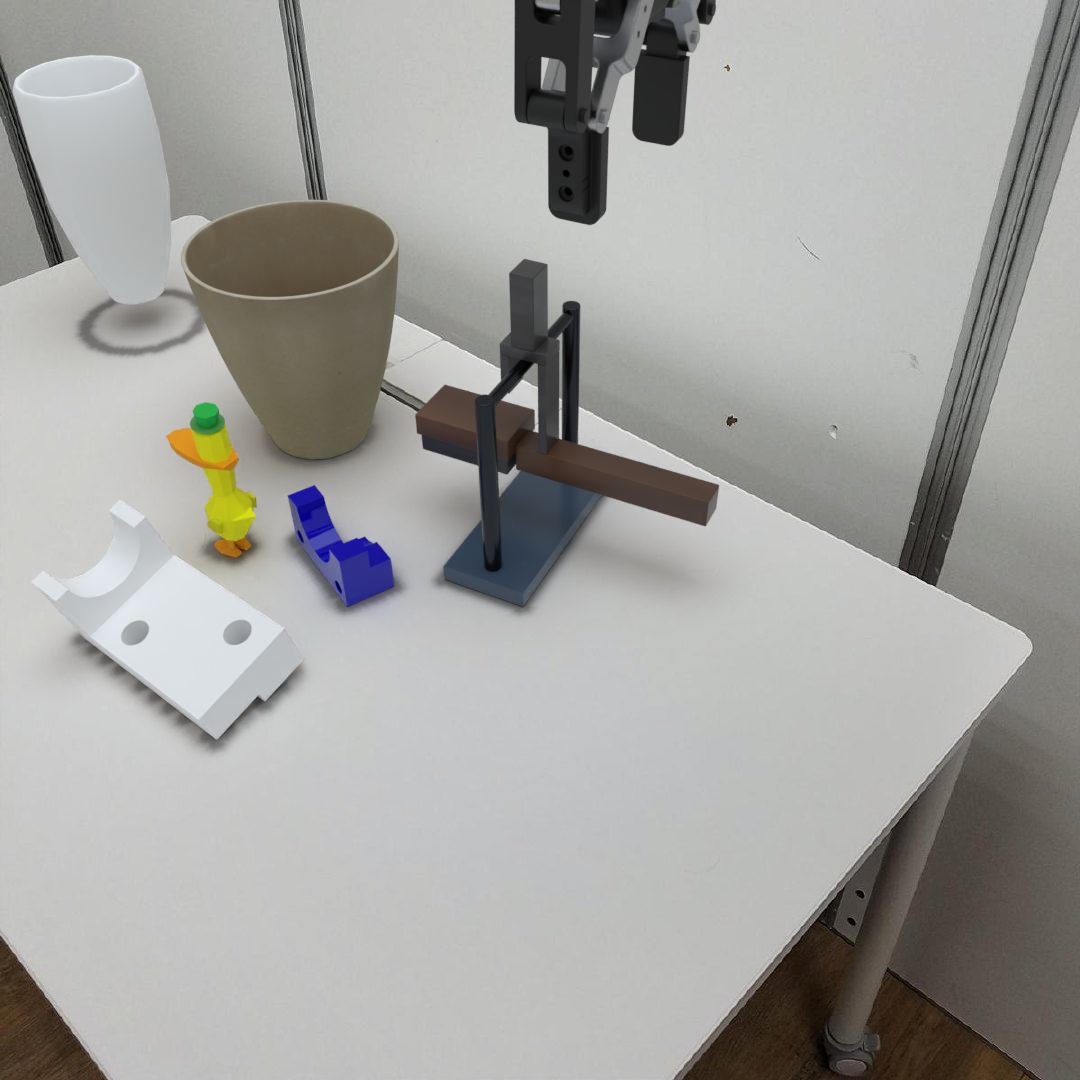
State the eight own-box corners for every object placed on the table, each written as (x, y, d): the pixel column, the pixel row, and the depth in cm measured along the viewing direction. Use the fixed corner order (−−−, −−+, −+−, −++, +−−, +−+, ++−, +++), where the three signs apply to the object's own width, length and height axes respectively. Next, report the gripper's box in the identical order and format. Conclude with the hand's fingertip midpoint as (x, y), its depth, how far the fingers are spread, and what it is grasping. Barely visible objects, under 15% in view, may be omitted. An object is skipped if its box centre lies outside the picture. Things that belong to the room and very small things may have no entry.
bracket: (93, 646, 72) (30, 582, 66) (172, 568, 75) (119, 499, 69) (223, 746, 66) (167, 685, 60) (304, 658, 69) (259, 591, 63)
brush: (700, 536, 70) (724, 334, 60) (418, 450, 77) (398, 256, 67) (721, 499, 72) (748, 300, 63) (447, 419, 79) (432, 228, 70)
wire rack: (614, 477, 83) (622, 304, 73) (523, 607, 73) (518, 426, 63) (542, 456, 85) (540, 284, 75) (443, 579, 75) (427, 400, 65)
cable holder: (394, 586, 75) (388, 541, 72) (347, 606, 73) (339, 562, 71) (341, 520, 80) (334, 477, 77) (296, 539, 78) (287, 495, 76)
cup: (226, 300, 103) (172, 59, 89) (164, 359, 96) (95, 107, 81) (128, 284, 105) (61, 47, 91) (61, 340, 98) (-24, 92, 84)
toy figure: (179, 542, 78) (136, 401, 70) (216, 515, 80) (178, 374, 72) (249, 578, 75) (213, 435, 67) (285, 548, 78) (255, 406, 70)
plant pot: (424, 479, 83) (405, 288, 72) (221, 500, 82) (171, 308, 71) (411, 370, 94) (392, 189, 83) (231, 386, 92) (189, 205, 82)
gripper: (666, -272, 30) (637, 270, 41) (813, -320, 40) (758, 131, 51) (427, -284, 33) (459, 230, 44) (619, -326, 42) (606, 105, 53)
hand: (619, 176), depth 47 cm, fingers open, 8 cm apart
